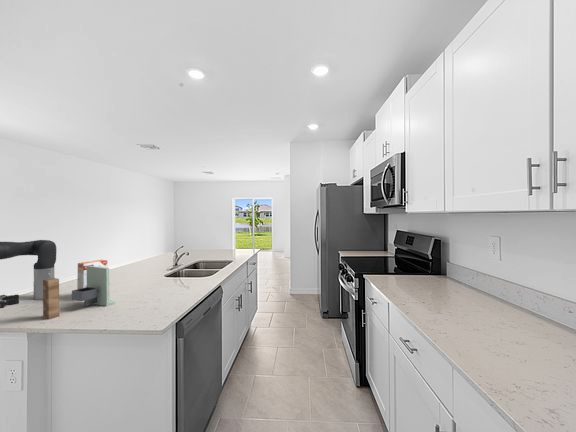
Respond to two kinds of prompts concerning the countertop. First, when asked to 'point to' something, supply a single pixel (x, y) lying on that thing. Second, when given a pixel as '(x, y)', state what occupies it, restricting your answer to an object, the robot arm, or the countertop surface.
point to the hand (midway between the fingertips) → (18, 298)
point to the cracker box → (83, 271)
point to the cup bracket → (95, 287)
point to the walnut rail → (50, 298)
